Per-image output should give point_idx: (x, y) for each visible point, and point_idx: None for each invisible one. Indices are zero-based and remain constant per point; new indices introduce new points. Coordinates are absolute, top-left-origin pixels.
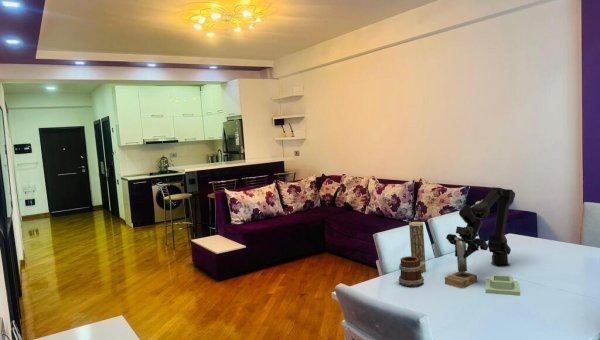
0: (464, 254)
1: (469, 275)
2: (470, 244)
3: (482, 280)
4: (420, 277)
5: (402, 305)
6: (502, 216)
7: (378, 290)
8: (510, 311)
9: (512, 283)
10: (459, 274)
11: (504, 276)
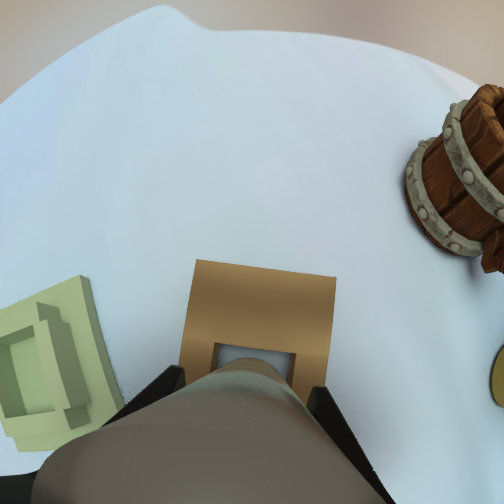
0: (165, 393)
1: None
2: (3, 492)
3: None
4: (428, 181)
5: (317, 35)
6: None
7: (456, 94)
8: (15, 166)
9: None
10: None
11: (19, 416)
